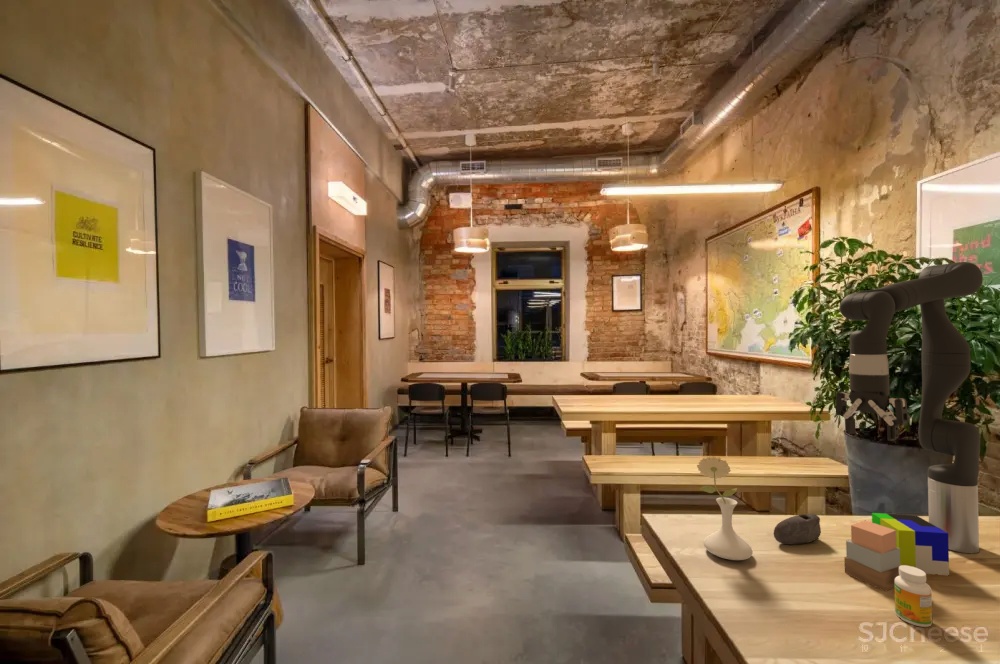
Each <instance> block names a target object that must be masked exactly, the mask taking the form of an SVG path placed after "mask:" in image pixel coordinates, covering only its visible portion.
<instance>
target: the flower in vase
mask: <svg viewBox="0 0 1000 664" xmlns="http://www.w3.org/2000/svg"><path fill="white" fill-rule="evenodd" d="M696 468H698V469H697V470H698V471H699V473H700V474H701V475H703V476H704V477H708V478H709V479H713V480H714V481H713V482H714V487H713V486H711V485H709V484H708V485H707V484H705V485H703V486H701V487H700V488H699V491H702V492H704V493H705V492H706V493H709V494H713V493H715V492H717V493H718V494H719V496H720V497H717V498H715V501H716V502H717V504H718V506H719V508H720V511H721V520H722V522H721V527H720V528H719V529H718V530H716V531H714V532H712V533H710V534H709V535H707V536H706V537H705V538H704V540H703V546H704V548H705V549H706V550H707V551H708V552H709V553H711V554H712V555H714V556H716V557H719V558H722V559H725V560H729V561H745V560H747V559H749V558H750V557H752V556H753V554H754V553H753V549H752V546H751V545H750V544H749V543H748V542H747V541H746V540H745V539H744V538H743V537H741V535H739V534H738V533H737V532H736V531H735V530H734V529H733V522H732V521H733V512H734V509H735V507H736V506H737V505H738V501H737V500H735V499H733V498H729V497H731V496H733V495H734V494H735V493H736V492H737V490H738V487H736V488H732V489H730V488H729V489H726V490H724V492H723V493H721V492H720V491H719V490H718V487H717V484H716V483H717V482H716V481H717V480H716V479H721V478H726V477H727V476H728V475H729V474H730V473H731V472H732V470H731V467H730V466H729V463H728V462H727V460H724V459H722V458H721V457H716V456H712V457H711V456H709V455H708V456H706V457H703V458H702V459H699V462H698V464H697V465H696Z"/></svg>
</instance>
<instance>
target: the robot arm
mask: <svg viewBox="0 0 1000 664" xmlns="http://www.w3.org/2000/svg"><path fill="white" fill-rule="evenodd" d="M983 280H984V279H983V273H982V270H981V269H980V267H979V266H978V265H976V264H974V263H972V262H968V261H967V262H966V261H958V262H952V263H943V264H936V265H935V264H934V265H928V266H926V267H924V268H923V269H921V271H920V272H919V275H918V278H915V279H914V278H913V279H909V280H904V281H898V282H895V283H891V284H887V285H885V286H882V287H879V288H874V289H869V290H863V291H856V292H853V293H850V294H847V295H846V296H845V297H843V298H842V300H841V301H840V304H839V312H840V313H841V315H842V316H843V317H844V318H845V319H847V320H850V321H856V322H858V321H867V324H866V326H865V327H864V328H863V329H858V330H855V331H852V332H851V333H850V334H849V361H848V364H849V365H848V371H849V389H850V393H848V392H846V391H840V392H837V393H836V394H835V396H836V399H835V414H836V416H841V417H842V418H843V419H844V427H845V428H844V429H845V431H846V432H847V434H850V435H851V434H852V435H853V434H856V418H855V416H857V414H858V413H870V414H875V415H877V414H878V416H879V417H880V419H881V418H882V419H883V420H884V421H885V422H886V424H887V425H886V435H887V436H886V437H887V438H886V439H887V441H889V442H894V441H896V440H897V439H898V438H899V437H900V435H899V426H900V425H904V424H908V423H909V412H908V404H907V403H908V402H907V399H906V398H904V397H902V398H893V397H891V396H890V367H889V359H888V358H889V357H888V354H887V353H888V351H887V347H888V345H887V343H888V342H887V337H888V334H889V331H890V327H891V323H892V320H893V319H894V316H895V315H894V314H895V313H897V312H900V311H903V310H907V309H910V308H913V307H916V306H919V307H920V314H921V315H920V316H921V380H922V381H921V384H922V385H921V405H920V412H919V413H920V414H919V421H918V442H919V444H920V446H921V448H923V449H924V450H925V451H929V452H932V453H936V454H937V453H938V454H943V455H946V456H947V455H949V456H952V457H954V459H953V462H952V463H947V464H934V465H929V466H928V468H927V500H928V501H927V502H928V503H927V504H928V507H927V508H928V522H929V523H931V524H933V525H934V526H936V527H938V528H940V529H941V530H943V531H945V532H947V533H948V543H949V550H950V551H953V552H957V553H958V552H959V553H965V554H976V553H979V552H980V538H979V537H980V532H979V531H980V529H979V528H980V527H979V489H978V488H979V487H978V484H979V481H978V480H979V473H980V451H981V434H980V431H979V429H978V427H977V426H976V425H975V424H973V423H971V422H966V421H958V420H952V419H944V418H943V411H944V406H945V404H946V403H947V400H948V399H949V398H950V396H952V394H953V393H954V392H955V391H956V390H957V389H958V388H959V387H960V386H961V385H962V384H963V383H964V382H965V380H966V379H967V378H968V376H969V375H970V373H971V359H972V358H971V348H970V347H971V346H970V344H969V342H968V341H967V339H966V338H965V337H964V335H963V334H962V333H961V332H960V331H959V330H958V328H957V327H955V325H954V324H953V323H952V322H951V320H950V318H949V316H948V315H947V310H946V307H945V299H949V298H962V297H967V296H971V295H974V294H975V293H977V292H978V291H979V290H980V289H981V287H982V285H983ZM849 400H850V402H851V403H852V404H851V405H850V406H849V407H847V406H848V401H849ZM890 404H891V405H892V406H893V408H894V409H895V410H894V411H895V415H894V412H893V411H892V409H891V408H890V407H889V405H890Z"/></svg>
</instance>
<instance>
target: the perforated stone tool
mask: <svg viewBox="0 0 1000 664" xmlns="http://www.w3.org/2000/svg"><path fill="white" fill-rule="evenodd" d="M820 522H821V518H820V516H818V515H817V514H816V513H803V514H802V513H801V514H798V515H797V514H796V515H793V516H790V517H788V518H785V519H783V520H781V521H779V523H777V524H776V526H775V527H774V528H773V537H774V539H775V541H777V542H778V543H780V544H784V545H794V544H795V545H796V544H797V545H799V544H807V543H810V542H813V541H818V540H819V537H820V536H821V533H822V531H821V530H822V528H821V523H820Z"/></svg>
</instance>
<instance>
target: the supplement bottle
mask: <svg viewBox="0 0 1000 664" xmlns="http://www.w3.org/2000/svg"><path fill="white" fill-rule="evenodd" d="M899 575H900V576H897V577H896V578H895V582H894V584H895V587H894V612H895V615H896V616H897V617H898V618H899V617H900V618H901V619H900V618H899V619H900V620H903V621H904V622H906V623H907V624H909V625H914V626H917V627H922V628H928V627H931V626H932V624H933V613H932V612H933V607H932V606H933V604H932V603H933V601H932V599H933V598H932V589H931V586H930V585H929V584H928V583H926V582H927V574H926V573H925V572H924V571H922V570H920V569H918V568H915V567H912V566H906V565H902V566H899Z"/></svg>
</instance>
